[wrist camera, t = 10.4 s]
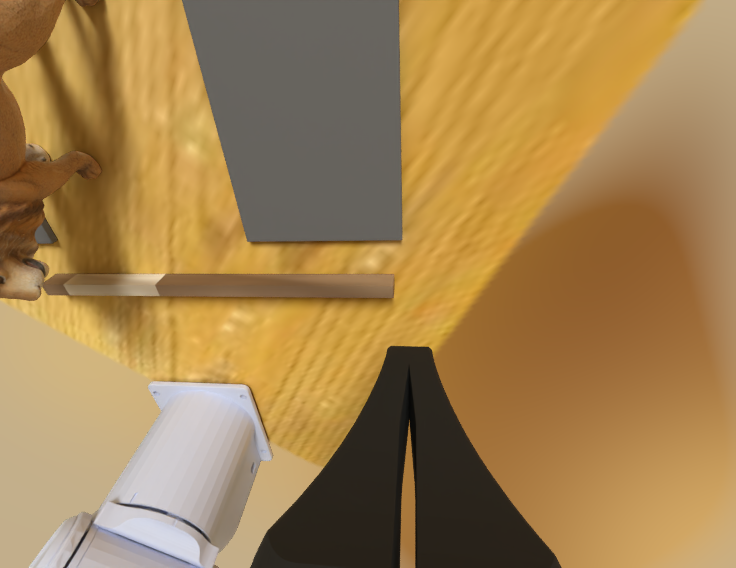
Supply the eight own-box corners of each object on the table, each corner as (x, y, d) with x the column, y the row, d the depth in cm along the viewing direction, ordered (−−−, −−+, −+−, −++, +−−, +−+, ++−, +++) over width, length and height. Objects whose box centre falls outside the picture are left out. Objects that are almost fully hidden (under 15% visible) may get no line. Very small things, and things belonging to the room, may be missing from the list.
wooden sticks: (394, 285, 22) (393, 298, 21) (62, 284, 25) (47, 295, 24) (379, -198, 12) (376, -217, 11) (-186, -116, 15) (-229, -125, 14)
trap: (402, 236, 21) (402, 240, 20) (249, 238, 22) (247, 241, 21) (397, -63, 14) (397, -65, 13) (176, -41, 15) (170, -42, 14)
